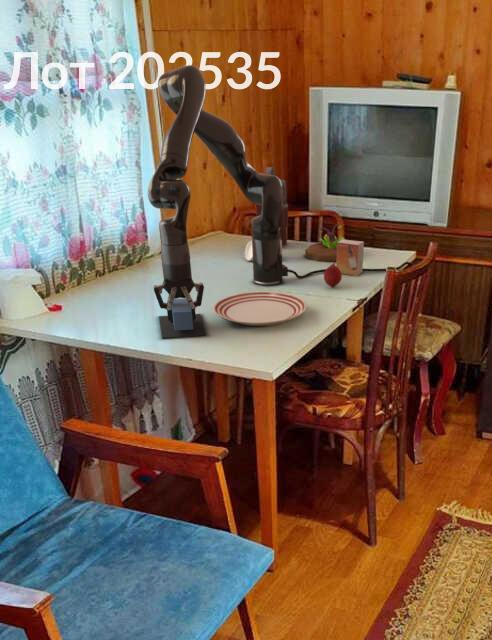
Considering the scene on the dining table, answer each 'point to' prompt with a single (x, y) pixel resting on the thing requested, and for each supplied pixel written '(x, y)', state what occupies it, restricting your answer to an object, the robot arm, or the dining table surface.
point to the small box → (350, 257)
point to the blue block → (182, 315)
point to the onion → (332, 275)
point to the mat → (170, 332)
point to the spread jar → (250, 254)
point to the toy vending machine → (284, 209)
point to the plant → (325, 247)
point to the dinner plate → (260, 308)
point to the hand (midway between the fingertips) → (182, 321)
